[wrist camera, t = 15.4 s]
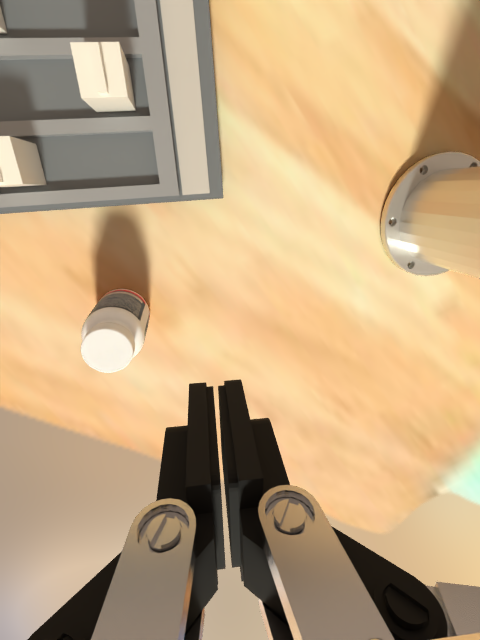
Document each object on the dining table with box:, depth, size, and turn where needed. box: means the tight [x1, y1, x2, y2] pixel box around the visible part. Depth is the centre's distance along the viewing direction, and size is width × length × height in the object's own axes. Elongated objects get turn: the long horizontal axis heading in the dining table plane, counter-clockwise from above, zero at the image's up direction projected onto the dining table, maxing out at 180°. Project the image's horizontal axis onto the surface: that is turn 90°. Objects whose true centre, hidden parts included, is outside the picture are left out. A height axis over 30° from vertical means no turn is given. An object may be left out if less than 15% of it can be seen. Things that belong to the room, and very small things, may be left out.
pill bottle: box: [81, 289, 150, 373], centre depth 31 cm, size 5×5×9 cm
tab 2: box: [70, 42, 136, 112], centre depth 24 cm, size 3×3×5 cm
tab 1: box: [0, 136, 47, 187], centre depth 24 cm, size 3×3×5 cm
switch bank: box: [0, 0, 223, 214], centre depth 26 cm, size 24×17×3 cm
